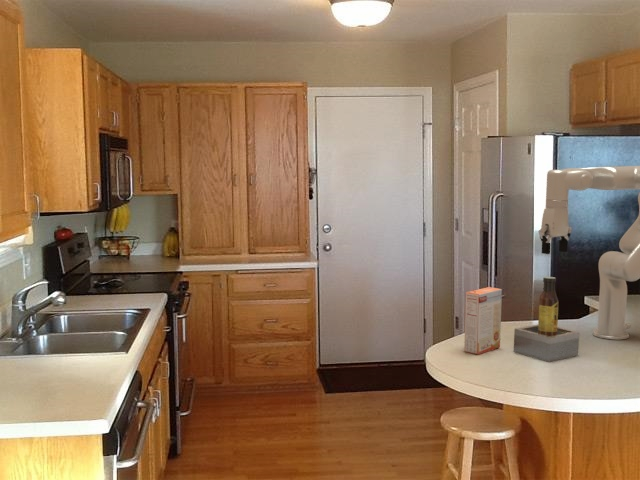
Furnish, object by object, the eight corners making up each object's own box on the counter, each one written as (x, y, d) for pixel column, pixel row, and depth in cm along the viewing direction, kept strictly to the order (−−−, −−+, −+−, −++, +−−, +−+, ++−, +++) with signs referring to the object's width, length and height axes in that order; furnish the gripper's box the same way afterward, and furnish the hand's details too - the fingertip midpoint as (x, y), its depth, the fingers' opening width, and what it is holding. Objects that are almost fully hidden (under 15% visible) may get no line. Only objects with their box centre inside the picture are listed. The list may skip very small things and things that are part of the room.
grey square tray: (546, 344, 278) (547, 322, 277) (582, 354, 266) (583, 331, 265) (513, 351, 268) (514, 328, 267) (549, 362, 256) (550, 338, 255)
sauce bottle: (557, 338, 262) (560, 279, 259) (538, 337, 263) (541, 278, 261) (555, 333, 268) (558, 276, 266) (537, 332, 269) (539, 275, 267)
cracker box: (485, 344, 277) (488, 286, 274) (500, 348, 272) (503, 288, 270) (462, 351, 267) (464, 291, 264) (477, 355, 263) (480, 293, 260)
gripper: (563, 203, 286) (560, 249, 288) (532, 205, 276) (530, 253, 278) (580, 204, 280) (578, 252, 282) (549, 206, 270) (547, 255, 272)
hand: (554, 252), depth 280 cm, fingers open, 9 cm apart
